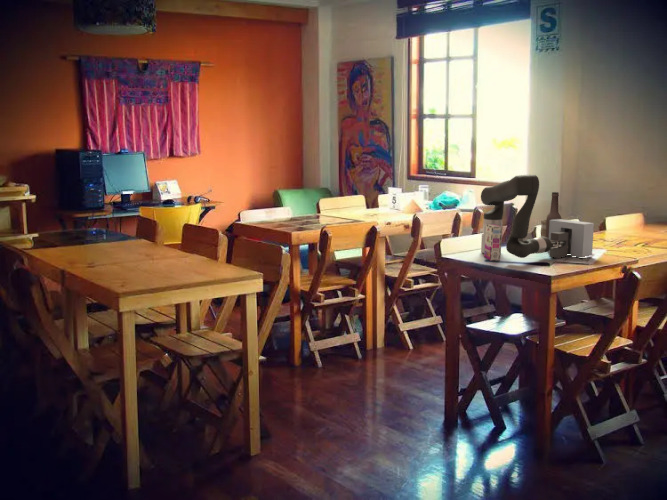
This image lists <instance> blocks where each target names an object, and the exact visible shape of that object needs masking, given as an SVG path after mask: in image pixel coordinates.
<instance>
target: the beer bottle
mask: <svg viewBox="0 0 667 500" xmlns="http://www.w3.org/2000/svg"><path fill="white" fill-rule="evenodd" d="M559 197H560V194H559V192H557V191H552V192H551V201H550V202H551V203H550V209H549V210H550V211H549V213H548V214H547V216H546V219H545V220H546V235H545V237H547V238H549V224H550V220H555V219H562V216H561V214H560V212H559Z"/></svg>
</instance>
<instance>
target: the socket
mask: <svg viewBox="0 0 667 500" xmlns="http://www.w3.org/2000/svg"><path fill="white" fill-rule="evenodd" d="M594 228H595V223H594V222H588V221H580V220H579V221H578V220H571V219H562V218H561V219H555V220H550V224H549V239H550V240H551V233H553V232H560V231H561V232H568V233H569V234H568V250H567V254H571V256H576V257H585V256H589V255H592V256H593V246H594V245H593V244H594V233H595V232H594V231H595V230H594ZM548 253H550V250H549V251H548V252H547V254H548Z"/></svg>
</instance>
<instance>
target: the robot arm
mask: <svg viewBox="0 0 667 500" xmlns="http://www.w3.org/2000/svg"><path fill="white" fill-rule="evenodd" d="M539 190H540V179H539V177H538V176H537V175H536V174H517V175H515V176H513V177H512V178H510V180H505V181H503V182H500V183H498V184H495V185H493V186H486V187H484V188H483V189H482V190H481V192H480V201H481V202H482V204H483V205H484V206H494V207H493V208H492V209H491V210H489V211H486V212H484V214H483V225H482V227H483V229H482V233H481V245H480V247H481V248H480V253H482V254H484V252H485V232H486V224H495V225H498V226H500V227H502V229H501V239H502V236H503V235H502V234H503V233H502V232H503V216H504V209H505V208H504V207H505V206H504V205H505V202H510V201H512V200H514V199H516V197H519V196H526V200H525V202H524V203H523V205H522V206H521V208H520V209H519V210H518V211H517V213H516V214H515V216H514V219H513V223H512V231H511V233H510V236H509V238H508V240H507V242H506V246H505V249H506V251H507V252H508V253H509V254H512V255H513V256H515V257H518V258H520V259H525V258H527V257H529V255H533V254H542V253H543V254H545V253H548V251H549V250H550V249H552V248H563V247H564V245H566V241H557V240H554V241H553V240H550V239H549V238H547V237H541V236H540V237H534V238H533V237H532V239H528V240H525V241H523V242H521V241H519V239H523V238H526V237H527V234H528V233H529V228H530V220H531V216H532V213H533V210H534V207H535V204H536V200H537V198H538V194H539ZM555 242H556V243H555ZM501 252H502V246H501V247H500V254H501Z"/></svg>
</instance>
